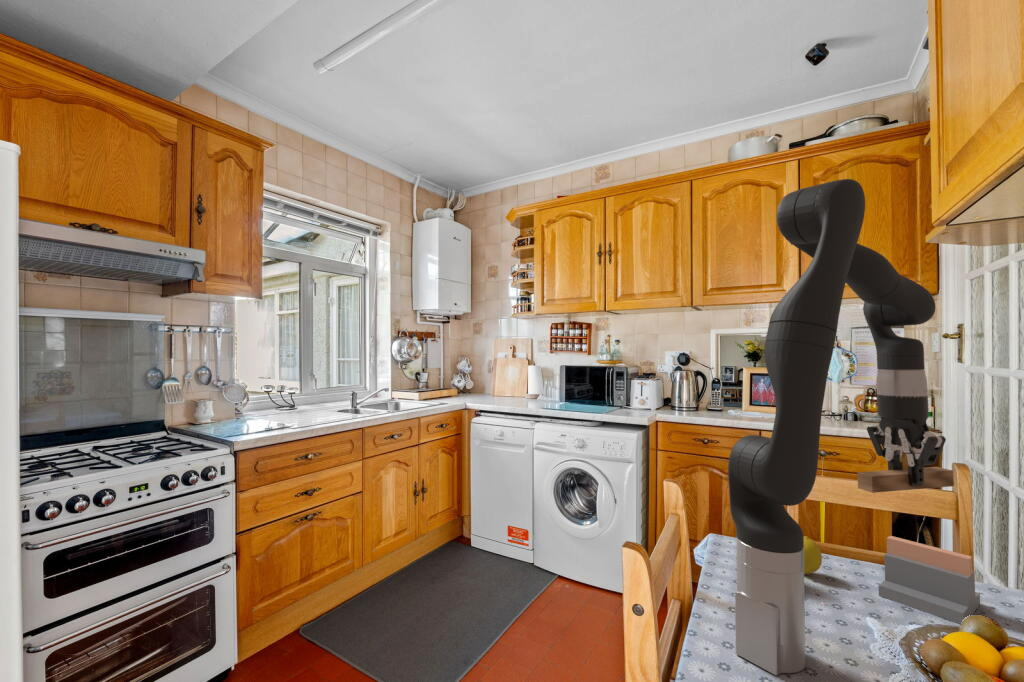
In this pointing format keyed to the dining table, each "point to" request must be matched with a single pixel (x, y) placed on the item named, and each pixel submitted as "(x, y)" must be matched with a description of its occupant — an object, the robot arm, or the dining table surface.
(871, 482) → the walnut stick
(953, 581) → the fulcrum stand
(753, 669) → the dining table surface
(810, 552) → the lemon
